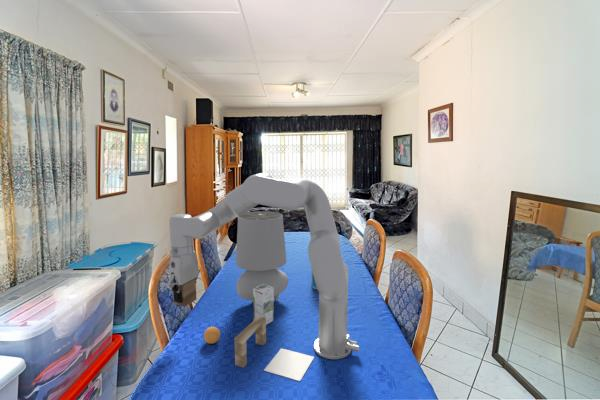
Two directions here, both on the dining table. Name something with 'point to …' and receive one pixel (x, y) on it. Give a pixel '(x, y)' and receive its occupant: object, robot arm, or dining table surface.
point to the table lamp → (261, 253)
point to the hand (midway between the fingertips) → (185, 297)
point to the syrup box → (263, 302)
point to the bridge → (241, 338)
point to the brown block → (187, 293)
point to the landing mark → (289, 364)
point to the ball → (212, 335)
